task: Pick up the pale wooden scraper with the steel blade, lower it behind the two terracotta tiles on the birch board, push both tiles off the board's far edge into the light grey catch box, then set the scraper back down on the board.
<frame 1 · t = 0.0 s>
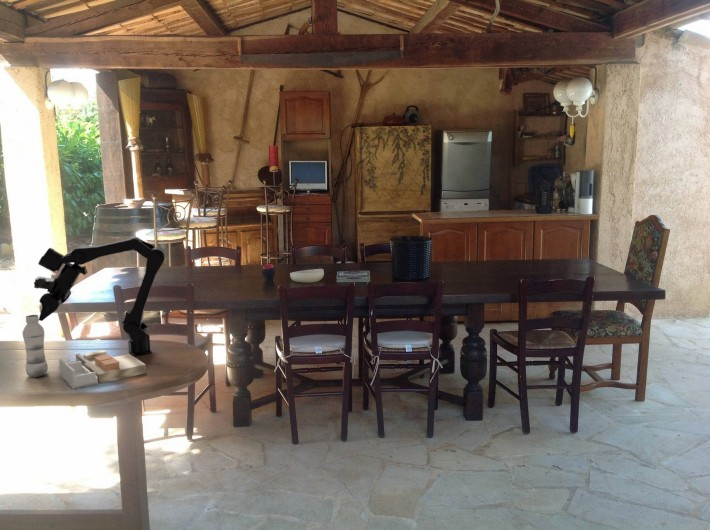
hand: (43, 316, 223), 15 cm above the table, tool tilted 35°, fingers open, 9 cm apart
tile b: (110, 367, 207), point 3 cm above the table, touching board
plastic bottle: (37, 376, 208), on the table
catch box: (79, 380, 204), on the table
tile a: (104, 363, 211), point 3 cm above the table, touching board
board: (115, 372, 211), on the table
scraper: (95, 362, 221), on the table
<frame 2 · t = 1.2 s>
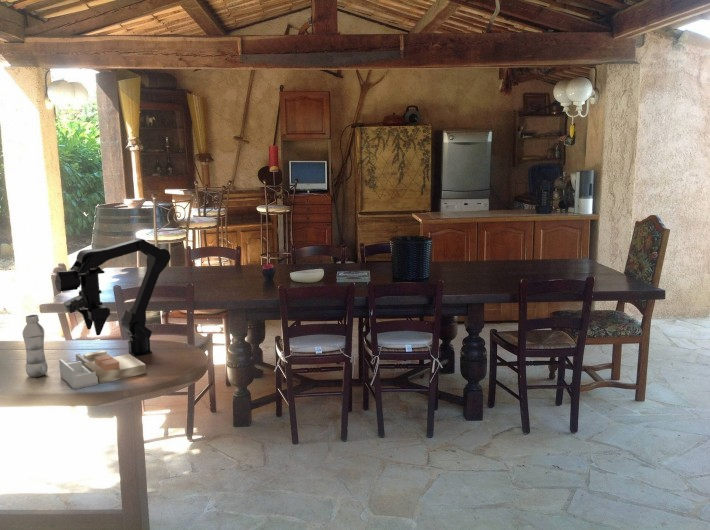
hand: (93, 332, 219), 11 cm above the table, tool pointing down, fingers open, 9 cm apart
nothing on the table moved.
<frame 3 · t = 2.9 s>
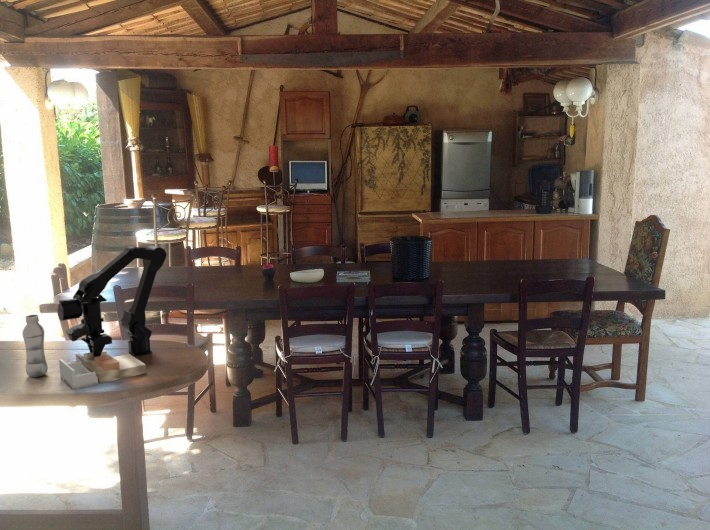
hand: (95, 359, 221), 1 cm above the table, tool pointing down, fingers closed on scraper, 2 cm apart
scraper: (95, 362, 221), on the table, touching gripper
everything else where it was.
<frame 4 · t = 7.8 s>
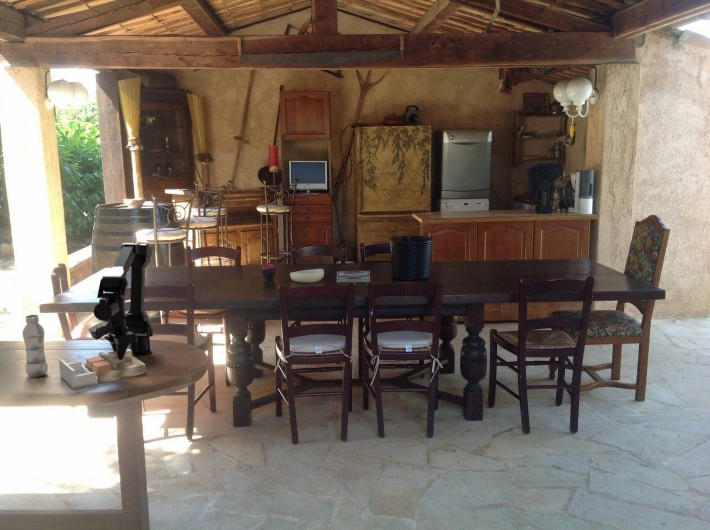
hand: (119, 358, 211), 4 cm above the table, tool pointing down, fingers closed on scraper, 2 cm apart
tile b: (102, 369, 205), point 3 cm above the table, touching board
tile a: (95, 364, 209), point 3 cm above the table, touching board, scraper
scraper: (120, 361, 212), point 3 cm above the table, touching gripper, tile a
everything else where it was.
when the fingers open (4 cm above the table, at t = 10.8 s): scraper stays where it is, resting on board.
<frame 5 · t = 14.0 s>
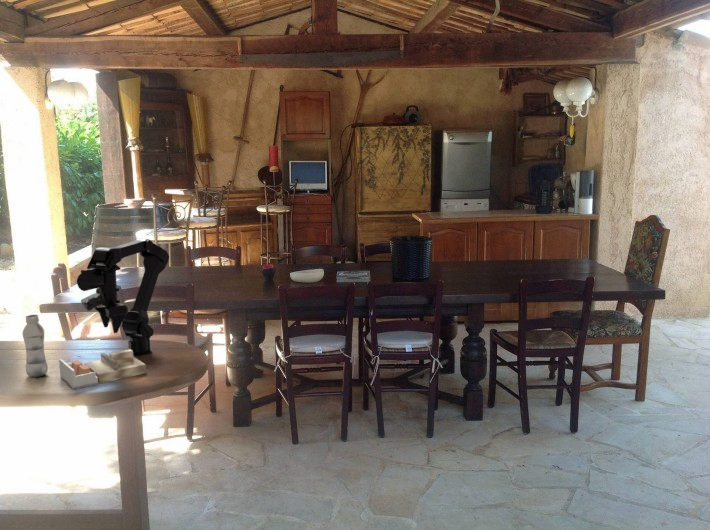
hand: (110, 330, 217), 12 cm above the table, tool pointing down, fingers open, 9 cm apart
tile b: (87, 373, 202), point 3 cm above the table, tilted 90°, touching catch box
tile a: (80, 368, 206), point 3 cm above the table, tilted 90°, touching catch box
scraper: (121, 362, 212), point 3 cm above the table, touching board
everything else where it was.
at the end: tile a inside the target area (3.5 cm from its centre), point 2.8 cm above the table; tile b inside the target area (3.8 cm from its centre), point 2.8 cm above the table; scraper touching board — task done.
